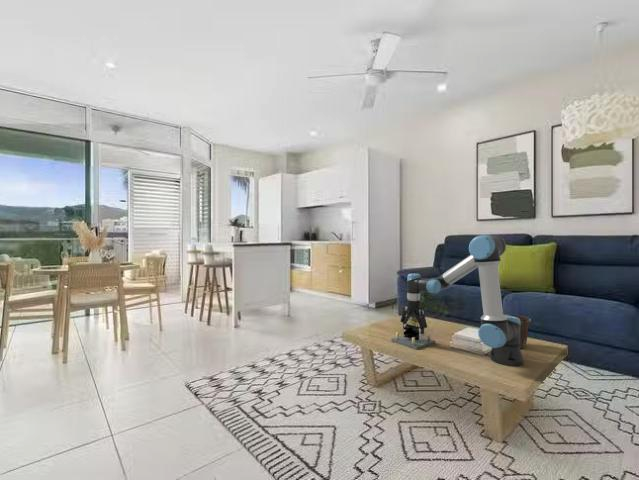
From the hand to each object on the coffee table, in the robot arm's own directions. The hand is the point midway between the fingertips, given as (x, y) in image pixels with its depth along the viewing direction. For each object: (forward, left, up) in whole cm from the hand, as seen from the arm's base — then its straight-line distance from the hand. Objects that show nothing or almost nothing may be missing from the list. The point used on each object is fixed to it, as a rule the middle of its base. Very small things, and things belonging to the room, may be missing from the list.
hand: (413, 336), depth 198 cm
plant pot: (-38, -43, -3) cm, 57 cm away
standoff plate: (0, 0, -3) cm, 3 cm away
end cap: (0, 0, 0) cm, 0 cm away
